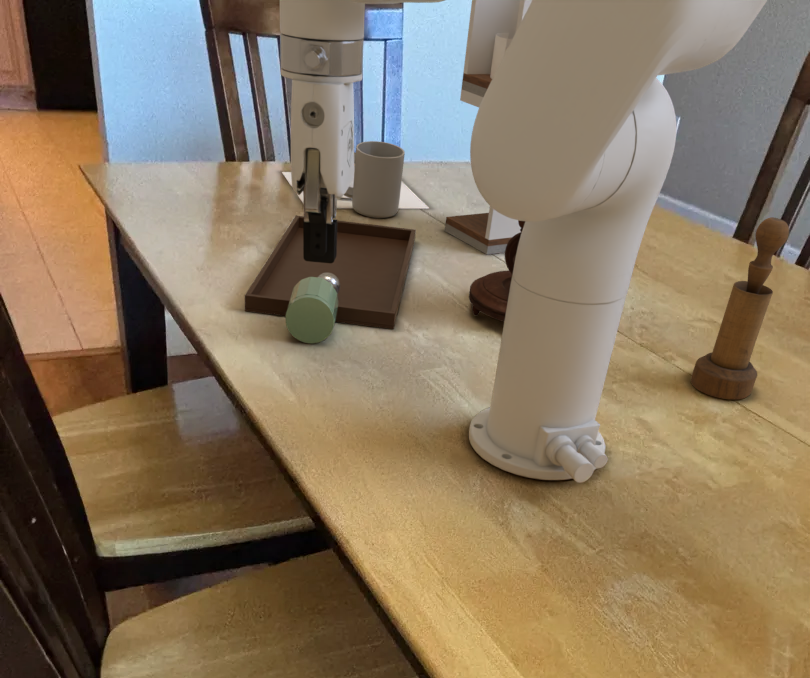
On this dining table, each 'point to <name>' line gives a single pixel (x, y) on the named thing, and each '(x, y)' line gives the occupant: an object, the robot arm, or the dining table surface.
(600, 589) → the dining table surface
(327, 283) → the tumbler
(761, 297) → the mortar and pestle
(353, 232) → the tray
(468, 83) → the white shelf tower
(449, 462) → the dining table surface
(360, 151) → the cup
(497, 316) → the dark brown wooden piece
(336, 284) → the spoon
